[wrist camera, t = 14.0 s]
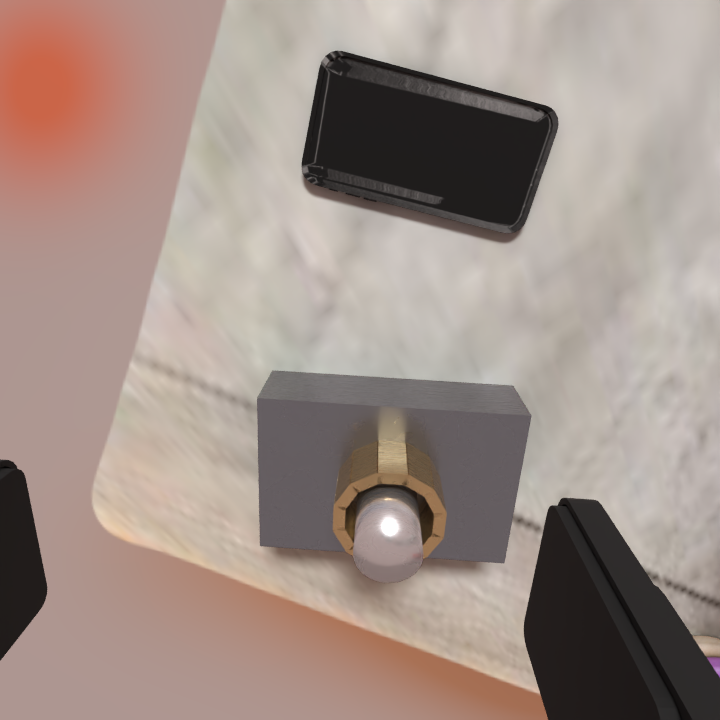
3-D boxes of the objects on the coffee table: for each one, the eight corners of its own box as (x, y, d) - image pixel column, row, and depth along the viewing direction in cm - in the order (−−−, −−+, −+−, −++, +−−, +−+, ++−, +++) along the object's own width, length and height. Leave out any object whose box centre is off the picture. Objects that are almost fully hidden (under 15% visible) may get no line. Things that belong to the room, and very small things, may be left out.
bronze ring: (444, 444, 35) (451, 477, 31) (434, 530, 37) (439, 570, 33) (340, 437, 35) (334, 469, 31) (336, 523, 37) (331, 563, 33)
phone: (323, 46, 31) (564, 110, 31) (325, 50, 32) (558, 112, 32) (298, 182, 33) (520, 239, 34) (300, 182, 34) (516, 237, 35)
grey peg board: (513, 385, 38) (567, 474, 27) (490, 519, 42) (529, 645, 31) (272, 370, 39) (227, 452, 27) (273, 504, 43) (234, 623, 32)
